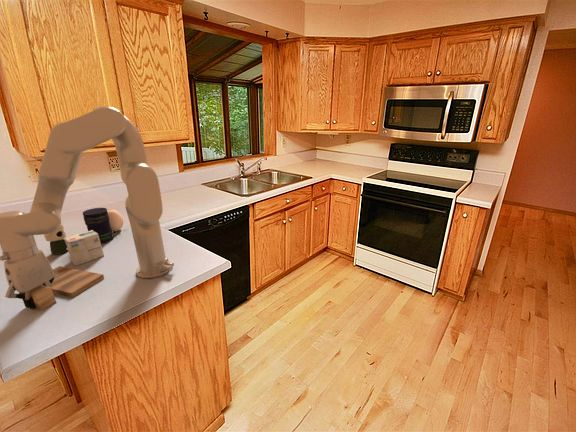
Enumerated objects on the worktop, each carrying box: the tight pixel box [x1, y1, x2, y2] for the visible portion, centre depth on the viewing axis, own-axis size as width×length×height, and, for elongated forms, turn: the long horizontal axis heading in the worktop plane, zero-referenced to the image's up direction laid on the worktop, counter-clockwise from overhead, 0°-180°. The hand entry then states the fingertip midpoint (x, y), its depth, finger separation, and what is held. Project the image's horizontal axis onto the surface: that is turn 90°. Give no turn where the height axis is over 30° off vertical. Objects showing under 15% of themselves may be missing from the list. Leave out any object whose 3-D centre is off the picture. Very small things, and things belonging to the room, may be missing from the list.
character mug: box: [43, 222, 68, 255], centre depth 125 cm, size 11×7×13 cm, turn 10°
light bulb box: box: [63, 230, 105, 266], centre depth 120 cm, size 11×7×11 cm, turn 141°
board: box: [51, 265, 105, 298], centre depth 104 cm, size 22×12×2 cm, turn 73°
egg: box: [107, 209, 124, 232], centre depth 147 cm, size 8×8×11 cm
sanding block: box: [30, 285, 57, 312], centre depth 92 cm, size 7×4×6 cm, turn 73°
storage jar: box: [82, 207, 115, 245], centre depth 136 cm, size 10×10×15 cm
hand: (40, 302), depth 92 cm, fingers closed on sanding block, 4 cm apart
